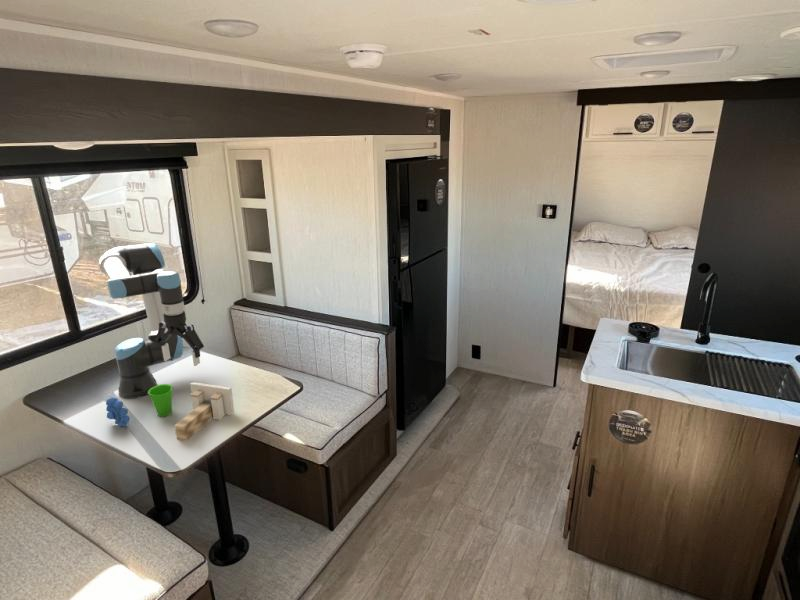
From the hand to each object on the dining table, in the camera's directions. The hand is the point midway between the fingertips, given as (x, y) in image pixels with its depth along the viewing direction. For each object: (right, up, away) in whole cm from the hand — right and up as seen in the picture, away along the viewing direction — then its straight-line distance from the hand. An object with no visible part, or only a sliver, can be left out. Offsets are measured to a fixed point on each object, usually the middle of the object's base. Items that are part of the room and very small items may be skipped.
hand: (182, 362), depth 181 cm
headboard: (+8, -22, +7) cm, 25 cm away
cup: (-11, -22, +8) cm, 26 cm away
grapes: (-25, -25, -1) cm, 35 cm away
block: (+6, -25, -1) cm, 26 cm away
